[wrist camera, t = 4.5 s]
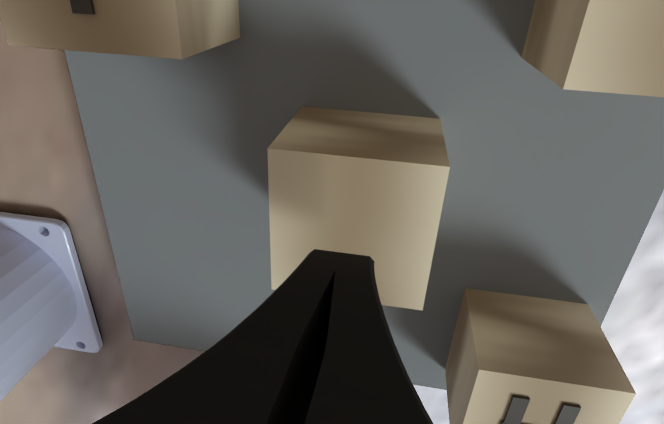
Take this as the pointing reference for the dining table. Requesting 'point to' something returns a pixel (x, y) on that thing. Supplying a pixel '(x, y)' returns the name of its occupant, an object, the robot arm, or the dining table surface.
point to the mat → (376, 97)
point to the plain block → (359, 195)
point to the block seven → (599, 45)
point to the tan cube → (122, 25)
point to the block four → (532, 364)
